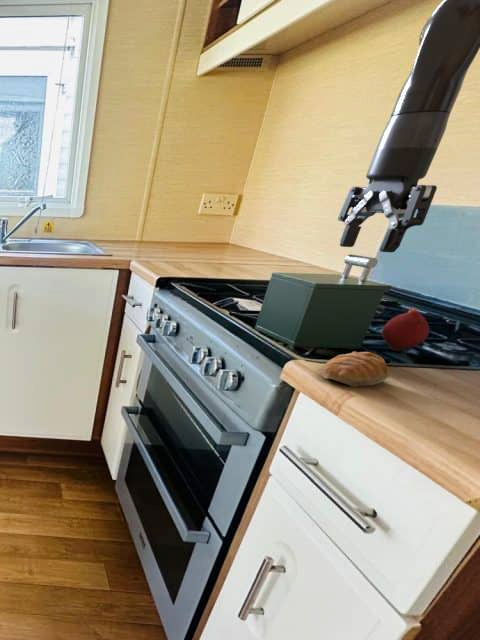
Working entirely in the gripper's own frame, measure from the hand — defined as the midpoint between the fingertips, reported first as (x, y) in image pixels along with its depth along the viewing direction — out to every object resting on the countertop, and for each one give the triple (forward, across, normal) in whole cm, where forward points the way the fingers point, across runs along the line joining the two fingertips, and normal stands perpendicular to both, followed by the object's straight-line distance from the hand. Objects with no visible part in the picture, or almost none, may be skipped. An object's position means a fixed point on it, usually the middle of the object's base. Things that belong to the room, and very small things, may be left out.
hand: (365, 249), depth 76 cm
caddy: (+17, 0, +5) cm, 18 cm away
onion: (+17, -6, -7) cm, 20 cm away
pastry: (+17, -21, +13) cm, 30 cm away
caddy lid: (+6, 0, +5) cm, 8 cm away
